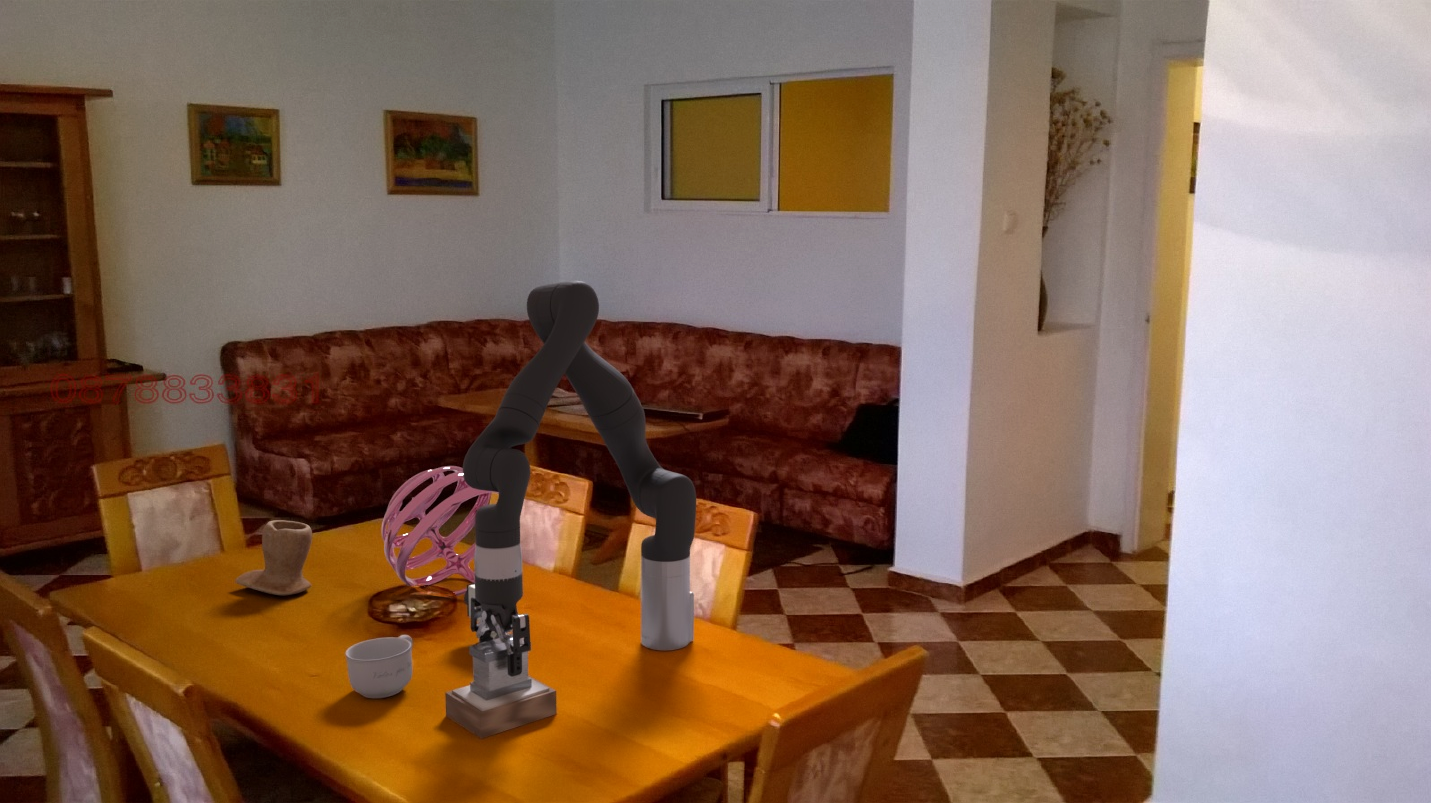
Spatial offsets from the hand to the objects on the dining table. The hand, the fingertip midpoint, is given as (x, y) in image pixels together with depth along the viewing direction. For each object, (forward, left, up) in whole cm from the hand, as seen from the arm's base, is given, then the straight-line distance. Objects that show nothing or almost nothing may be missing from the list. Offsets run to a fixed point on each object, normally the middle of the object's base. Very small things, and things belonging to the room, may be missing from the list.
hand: (500, 667), depth 189 cm
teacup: (+9, -22, -8) cm, 25 cm away
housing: (0, 0, -4) cm, 4 cm away
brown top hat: (+2, -86, -8) cm, 86 cm away
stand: (0, 0, -8) cm, 8 cm away
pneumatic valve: (-16, -29, -8) cm, 34 cm away
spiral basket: (-26, -65, -8) cm, 71 cm away
